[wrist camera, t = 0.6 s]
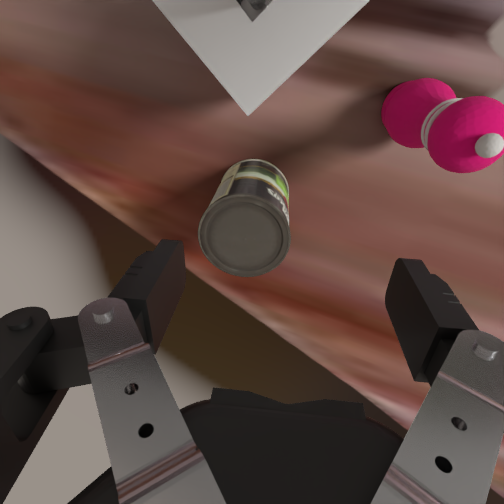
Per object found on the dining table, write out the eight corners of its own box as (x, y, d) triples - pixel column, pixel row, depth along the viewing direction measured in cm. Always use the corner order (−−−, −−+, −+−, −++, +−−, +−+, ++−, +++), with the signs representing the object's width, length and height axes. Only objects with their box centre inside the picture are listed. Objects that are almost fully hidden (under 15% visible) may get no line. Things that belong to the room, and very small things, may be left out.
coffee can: (276, 147, 44) (273, 182, 32) (297, 213, 49) (302, 265, 37) (207, 171, 47) (181, 212, 35) (234, 232, 52) (219, 286, 40)
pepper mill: (364, 115, 41) (420, 158, 24) (410, 61, 38) (512, 68, 21) (404, 150, 43) (482, 213, 26) (451, 101, 40) (576, 138, 23)
